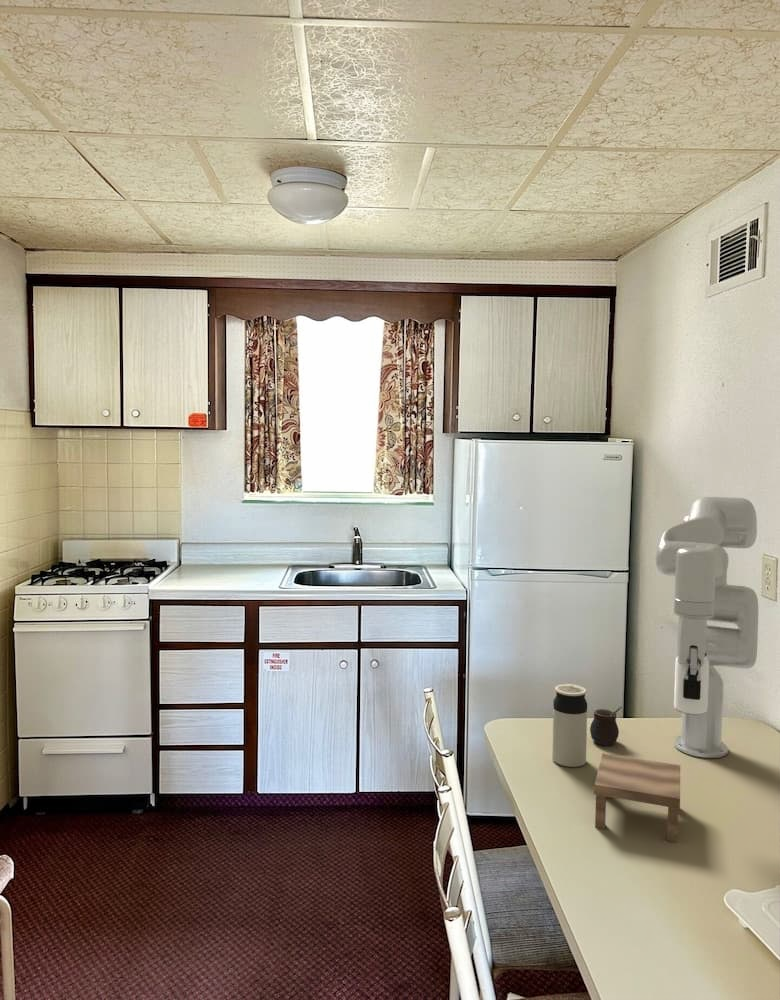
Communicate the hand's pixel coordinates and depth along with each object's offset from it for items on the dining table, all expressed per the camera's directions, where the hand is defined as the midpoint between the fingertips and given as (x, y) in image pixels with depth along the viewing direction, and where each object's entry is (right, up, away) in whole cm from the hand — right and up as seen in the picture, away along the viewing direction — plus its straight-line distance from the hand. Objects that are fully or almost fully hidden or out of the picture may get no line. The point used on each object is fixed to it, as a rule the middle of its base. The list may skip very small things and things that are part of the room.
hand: (690, 692), depth 153 cm
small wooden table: (-11, -26, 0) cm, 28 cm away
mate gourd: (-7, -23, +38) cm, 45 cm away
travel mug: (-19, -24, +27) cm, 41 cm away
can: (0, -4, 0) cm, 4 cm away
